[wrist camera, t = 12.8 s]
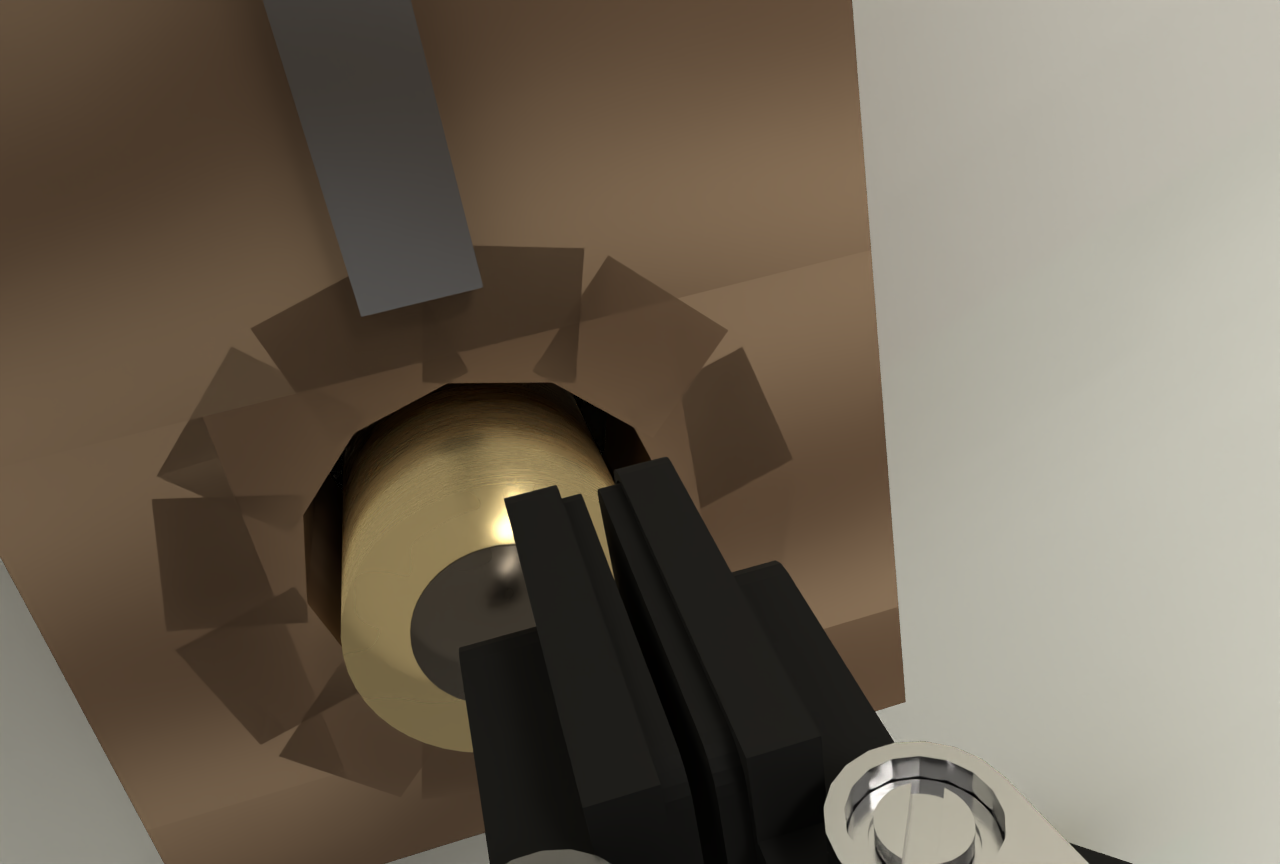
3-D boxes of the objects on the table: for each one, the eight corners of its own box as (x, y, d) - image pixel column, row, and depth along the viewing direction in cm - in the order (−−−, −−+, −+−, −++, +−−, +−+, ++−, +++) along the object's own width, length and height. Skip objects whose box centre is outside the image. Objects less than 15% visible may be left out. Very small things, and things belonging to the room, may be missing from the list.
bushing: (313, 347, 20) (295, 539, 13) (545, 288, 20) (630, 447, 14) (381, 545, 22) (393, 792, 15) (590, 486, 22) (684, 701, 16)
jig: (-233, -274, 14) (-558, -387, 9) (687, -420, 16) (838, -581, 11) (227, 728, 23) (188, 962, 18) (806, 561, 24) (925, 730, 19)
